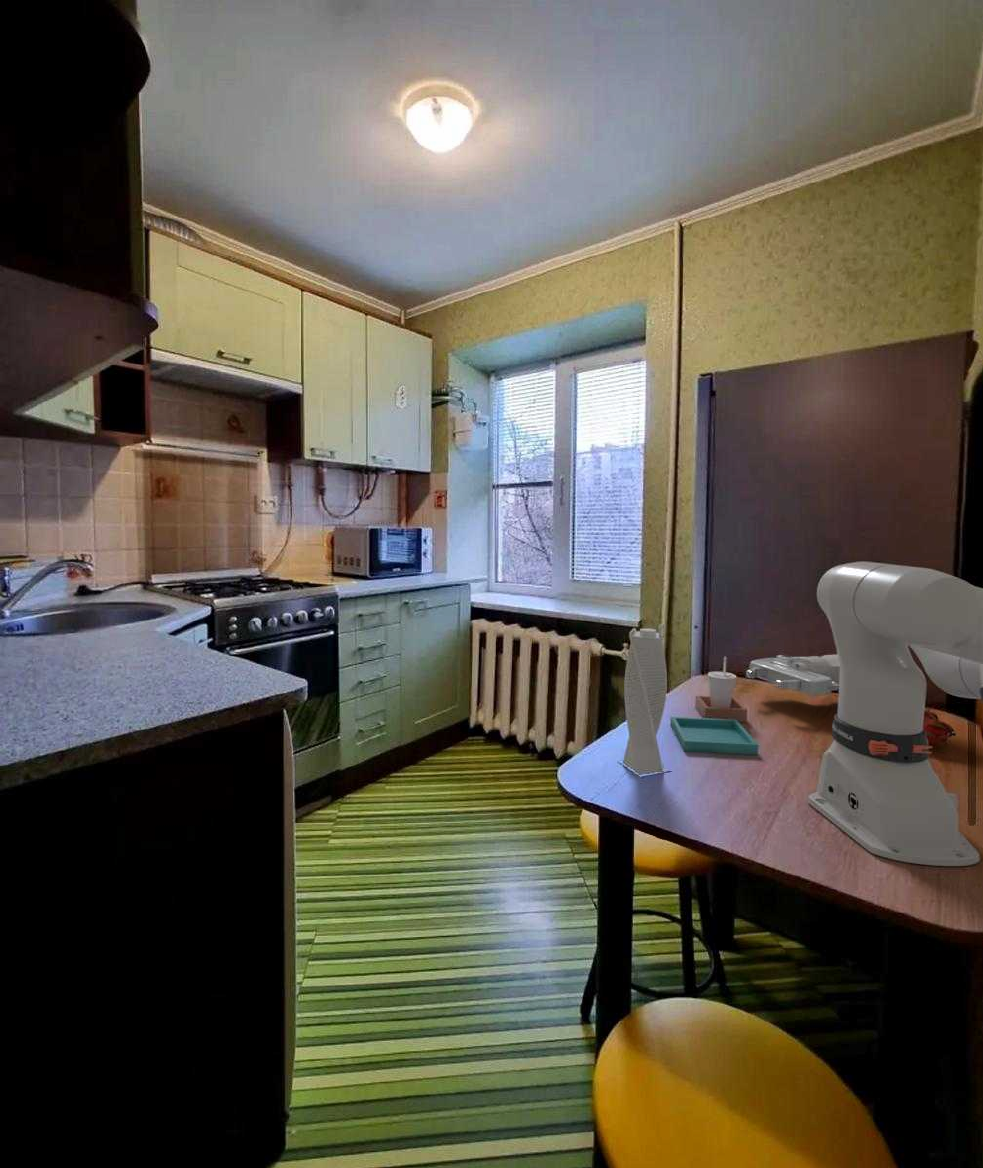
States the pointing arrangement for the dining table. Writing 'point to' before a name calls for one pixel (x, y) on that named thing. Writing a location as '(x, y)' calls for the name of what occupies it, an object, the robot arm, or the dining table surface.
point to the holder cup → (721, 710)
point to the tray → (713, 736)
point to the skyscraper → (645, 699)
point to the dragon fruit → (936, 728)
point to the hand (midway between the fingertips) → (762, 679)
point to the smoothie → (721, 687)
